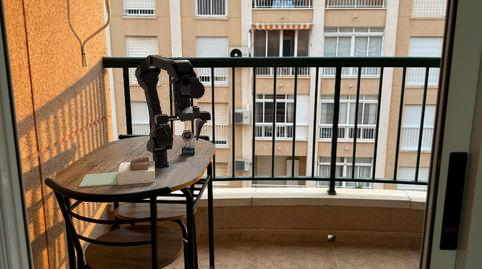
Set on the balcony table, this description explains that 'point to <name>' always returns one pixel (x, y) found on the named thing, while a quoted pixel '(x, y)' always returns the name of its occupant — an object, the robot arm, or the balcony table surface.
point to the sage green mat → (99, 179)
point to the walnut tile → (139, 164)
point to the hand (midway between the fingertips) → (184, 141)
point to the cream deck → (136, 174)
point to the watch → (188, 143)
